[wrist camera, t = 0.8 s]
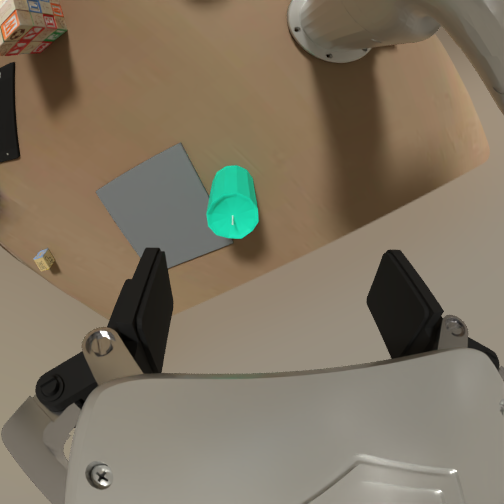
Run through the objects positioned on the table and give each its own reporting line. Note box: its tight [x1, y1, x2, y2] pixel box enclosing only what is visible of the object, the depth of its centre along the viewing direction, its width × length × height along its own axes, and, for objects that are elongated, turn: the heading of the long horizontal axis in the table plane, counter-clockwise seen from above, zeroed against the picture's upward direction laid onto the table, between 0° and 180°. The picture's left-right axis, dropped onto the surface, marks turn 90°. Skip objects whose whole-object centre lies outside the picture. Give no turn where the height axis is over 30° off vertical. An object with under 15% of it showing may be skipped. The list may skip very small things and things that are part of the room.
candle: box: [206, 165, 259, 239], centre depth 35 cm, size 6×6×12 cm
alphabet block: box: [34, 248, 55, 271], centre depth 44 cm, size 3×3×3 cm
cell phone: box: [0, 62, 20, 162], centre depth 27 cm, size 9×18×1 cm, turn 175°
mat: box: [96, 143, 233, 268], centre depth 42 cm, size 16×18×1 cm
